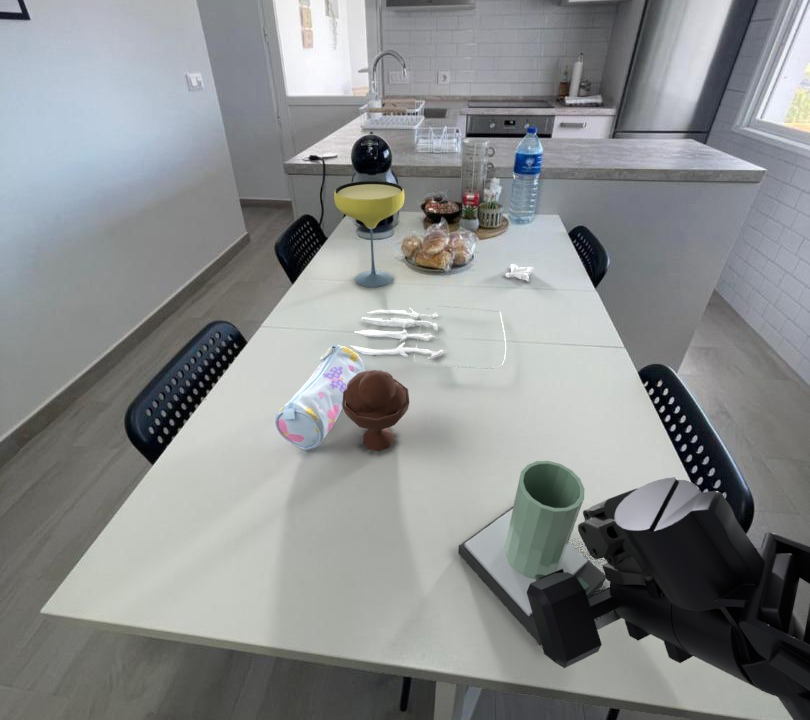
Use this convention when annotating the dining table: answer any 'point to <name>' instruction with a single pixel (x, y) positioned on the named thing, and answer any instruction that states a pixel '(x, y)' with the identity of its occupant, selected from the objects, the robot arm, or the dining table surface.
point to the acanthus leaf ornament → (520, 272)
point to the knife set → (404, 334)
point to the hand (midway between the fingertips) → (573, 564)
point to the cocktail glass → (370, 215)
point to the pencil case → (319, 399)
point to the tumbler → (543, 517)
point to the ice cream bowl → (375, 406)
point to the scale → (510, 585)
